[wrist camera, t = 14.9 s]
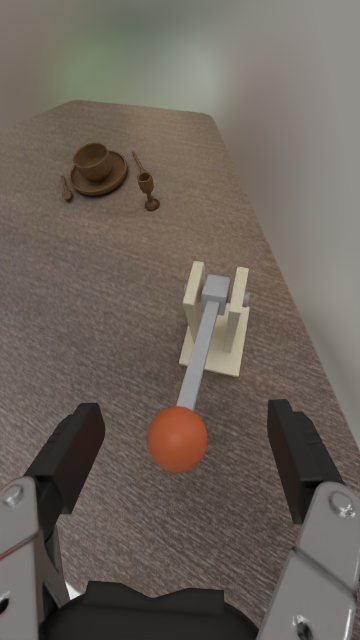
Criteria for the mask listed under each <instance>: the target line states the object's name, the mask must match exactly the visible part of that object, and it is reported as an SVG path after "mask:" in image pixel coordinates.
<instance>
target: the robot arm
mask: <svg viewBox="0 0 360 640" xmlns="http://www.w3.org/2000/svg"><path fill="white" fill-rule="evenodd" d="M267 431H268V437H269V441H270V445H271V448H272V452H273V455H274V458H275V462H276V465H277V469H278V472H279V475H280V479H281V482H282V486H283V489H284V492H285V496H286V499H287V503H288V506H289V509H290V513H291V516H292V520H293V523H294V524H303V525H302V528H301V530H300V533H299V536H298V538H297V541H296V543H295V546H294V547H292V548H291V550H290V552H289V555H288V557H287V560H286V562H285V565H284V567H283V570H282V573H281V575H280V578H279V580H278V583H277V586H276V588H275V591H274V593H273V596H272V599H271V601H270V604H269V606H268V609H267V612H266V614H265V617H264V620H263V622H262V625H261V627H260V630H259V629H258V627H257V626H256V625H255V624H254V623H253V622H252V621H251V620H250V619H249V618H248V617H247V616H246V615H245V614H244V613H242V612H241V611H240V610H238V609H237V608H235V607H234V606H232V605H230V604H228V603H226V602H224V590H214V589H200V588H186V589H183V590H180V591H176V592H173V593H170V594H166V595H163V596H160V597H156V598H150V597H148V596H146V595H144V594H142V593H140V592H138V591H136V590H134V589H132V588H130V587H128V586H126V585H124V584H122V583H115V582H101V581H89V582H88V585H87V588H86V591H85V594H82V595H80V596H78V597H76V598H74V599H72V600H70V597H69V593H68V590H67V587H66V584H65V580H64V574H63V567H62V559H61V552H60V544H59V537H58V529H57V525H56V522H57V519H58V517H59V515H60V514H71V513H72V511H73V508H74V506H75V504H76V502H77V499H78V497H79V495H80V492H81V490H82V488H83V486H84V483H85V481H86V479H87V477H88V474H89V472H90V470H91V467H92V465H93V463H94V461H95V458H96V456H97V454H98V452H99V449H100V447H101V445H102V442H103V440H104V437H105V424H104V421H103V418H102V414H101V411H100V407H99V405H98V403H81V404H79V406H78V407H77V409H76V410H75V412H74V413H73V414H69V415H68V416H67V417H66V418H65V419H64V420H62V421H61V422H60V423H59V424H58V426H57V427H56V429H55V430H54V432H53V435H51V436H50V438H49V439H48V440H47V443H45V445H44V446H43V448H42V449H41V451H40V452H39V454H38V455H37V456H36V458H35V459H34V461H33V462H32V464H31V465H30V467H29V468H28V470H27V471H26V472H25V474H24V475H23V477H19V478H16V479H14V480H12V481H10V482H9V483H7V484H6V485H5V486H4V487H2V488H1V489H0V640H351V635H352V629H353V623H354V617H355V611H356V604H357V596H356V593H357V586H358V581H359V582H360V497H359V496H358V495H357V494H356V493H355V492H354V491H353V490H351V489H350V488H348V487H347V486H346V485H345V483H344V481H343V480H342V478H341V476H340V474H339V472H338V470H337V468H336V466H335V464H334V463H333V461H332V459H331V457H330V455H329V453H328V451H327V449H326V447H325V445H324V444H323V443H322V440H321V438H320V436H319V434H318V433H317V430H316V428H315V426H314V425H313V423H312V421H311V420H310V419H309V418H308V417H307V416H306V415H305V414H304V413H302V412H293V411H292V409H291V406H290V404H289V402H288V400H287V399H279V400H269V401H268V418H267Z"/></svg>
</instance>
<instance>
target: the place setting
mask: <svg viewBox="0 0 360 640" xmlns="http://www.w3.org/2000/svg"><path fill="white" fill-rule="evenodd" d="M132 153H133V155H134V157H135V159H136V161H137V163H138V165H139V167H140V169H141V173H140V174H139V175H138V176H137V180H138V183H139V186H140V189H141V190H142V192H143V193H145V194H147V199H148V201H147V202H146V203H145V208H146V209H147V210H149V211H153V210H156V209H157V208H158V207H159V205H160V203H159V201H158V200H157V199H153V196H152V195H151V192H152V191H153V188H154V186H153V180H152V176H151V174H150V173H149V172H147V171H146V170H144V169H143V168H142V166H141V164H140V162H139V160H138V158H137V156H136V154H135V153H134V151H133V152H132ZM73 161H74V164H75V165H74V166H73V167H72V169H71V172H70V182H71V184H72V186H73V187H74V188H75V189H76V190H77V191H78V192H80V193H82V194H85V195H90V196H96V195H102V194H105V193H108V192H110V191H112V190H114V189H115V188H116V187H118V186H119V185H120V184H121V183H122V181H123V180H124V178H125V176H126V173H127V163H126V160H125V158H124V157H123V155H121V154H120V153H118V152H116V151H113V150H108V148H107V147H106V146H105V145H104V144H102V143H90V144H87V145H84V146H83V147H81V148H80V149H78V150H77V152H76V153H75V155H74V157H73ZM61 179H62V183H63V186H64V192H63V194H62V196H63V198H64V199H65V200H69V199H70V198H71V191H69V190H68V189H67V188H66V184H65V179H64V177H63V176H61Z"/></svg>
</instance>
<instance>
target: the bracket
mask: <svg viewBox="0 0 360 640" xmlns="http://www.w3.org/2000/svg"><path fill="white" fill-rule="evenodd" d="M248 270H249V268H242V267H237V271H236V277H235V282H234V287H233V292H232V297H231V302H230V304H229V303H227V304H226V309H225V313H224V316H222V315H217V319H216V323H215V327H214V331H213V335H212V339H211V343H210V347H209V351H208V355H207V359H206V364H205V368H204V370H206V371H210V372H214V373H219V374H223V375H228V376H232V377H236V378H238V376H239V370H240V364H241V358H242V352H243V346H244V340H245V334H246V328H247V322H248V316H249V310H250V307H247V306H248V301H249V295H250V293H249V292H245V287H246V282H247V276H248ZM204 285H205V269H204V263H203V262H196V261H194V262H193V266H192V270H191V273H190V277H189V281H188V283H186V284H185V286H184V290H183V296H184V300H183V306H184V309H185V313H186V317H187V320H188V328H187V332H186V336H185V340H184V344H183V348H182V352H181V356H180V360H179V364H180V365H183V366H188V364H189V361H190V357H191V354H192V351H193V347H194V344H195V340H196V337H197V334H198V330H199V327H200V324H201V320H202V317H203V313H204V312H201V298H202V291H203V288H204Z"/></svg>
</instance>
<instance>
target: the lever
mask: <svg viewBox="0 0 360 640" xmlns="http://www.w3.org/2000/svg"><path fill="white" fill-rule="evenodd" d="M230 281H231V278H229V277H222V276H216V275H208V276H207V279H206V282H205V285H204V288H203V291H202V298H201V312H204V313H203V317H202V320H201V324H200V327H199V330H198V334H197V337H196V340H195V344H194V347H193V351H192V354H191V357H190V361H189V364H188V367H187V371H186V374H185V377H184V381H183V384H182V388H181V391H180V394H179V398H178V401H177V404H176V406H173V407H169V408H166V409H164V410H163V411H161V412H160V413H159V414H158V415H157V416H156V417H155V418H154V419H153V421H152V423H151V425H150V427H149V430H148V436H147V443H148V448H149V452H150V454H151V456H152V458H153V460H154V461H155V462H156V463H157V464H158V465H159V466H160V467H161V468H163V469H164V470H167V471H169V472H175V473H180V472H185V471H188V470H190V469H192V468H193V467H194V466H196V465H197V464H198V463H199V462H200V460H201V459H202V457H203V455H204V453H205V450H206V447H207V432H206V428H205V425H204V423H203V421H202V420H201V418H200V417H199V416H198V415H197V414H196V413H195V412H194V409H195V404H196V400H197V396H198V392H199V388H200V384H201V380H202V376H203V372H204V368H205V364H206V359H207V355H208V351H209V347H210V343H211V339H212V335H213V331H214V327H215V323H216V319H217V315H222V316H224V313H225V309H226V304H227V300H228V295H229V288H230Z"/></svg>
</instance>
